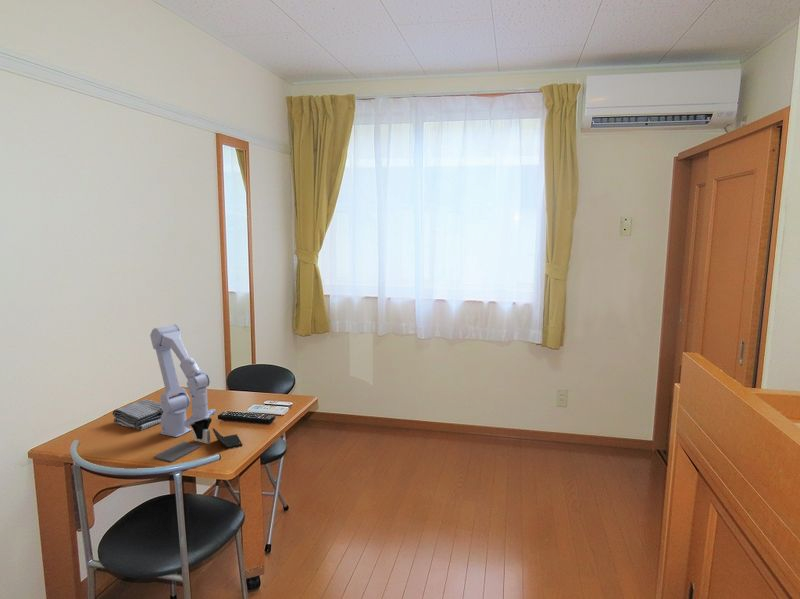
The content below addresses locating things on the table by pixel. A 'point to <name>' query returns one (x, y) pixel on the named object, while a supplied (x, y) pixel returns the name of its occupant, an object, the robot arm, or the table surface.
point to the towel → (139, 414)
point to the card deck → (205, 436)
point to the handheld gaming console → (228, 440)
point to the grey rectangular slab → (177, 451)
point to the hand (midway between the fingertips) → (201, 437)
